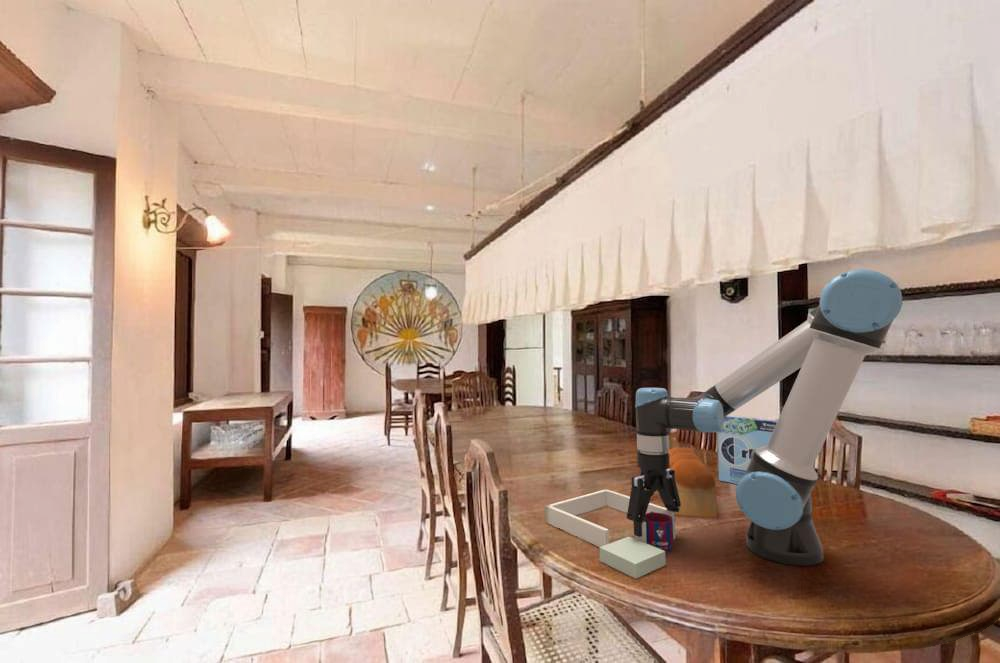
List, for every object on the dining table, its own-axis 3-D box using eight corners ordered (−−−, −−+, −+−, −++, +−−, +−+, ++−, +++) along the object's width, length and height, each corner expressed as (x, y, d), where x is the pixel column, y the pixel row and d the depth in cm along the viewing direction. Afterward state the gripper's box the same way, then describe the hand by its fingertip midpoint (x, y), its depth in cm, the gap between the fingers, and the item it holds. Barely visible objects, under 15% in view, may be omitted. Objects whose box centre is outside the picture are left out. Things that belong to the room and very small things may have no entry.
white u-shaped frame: (668, 525, 121) (668, 508, 122) (605, 550, 108) (605, 530, 108) (606, 504, 140) (606, 489, 140) (545, 522, 126) (545, 505, 126)
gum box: (718, 481, 161) (716, 416, 162) (725, 478, 165) (722, 414, 166) (779, 493, 146) (776, 422, 147) (785, 490, 150) (782, 420, 151)
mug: (645, 551, 107) (644, 521, 107) (640, 534, 117) (640, 507, 117) (675, 553, 106) (674, 523, 106) (668, 535, 115) (667, 508, 116)
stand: (665, 565, 100) (665, 551, 100) (635, 578, 94) (635, 564, 94) (629, 549, 108) (628, 536, 108) (599, 561, 102) (599, 547, 102)
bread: (718, 519, 126) (716, 465, 127) (670, 515, 129) (668, 463, 130) (702, 491, 150) (700, 446, 151) (662, 489, 153) (660, 445, 154)
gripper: (668, 442, 121) (670, 527, 120) (609, 455, 108) (611, 550, 107) (694, 447, 115) (697, 536, 114) (634, 461, 102) (637, 562, 101)
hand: (655, 543), depth 111 cm, fingers open, 10 cm apart
